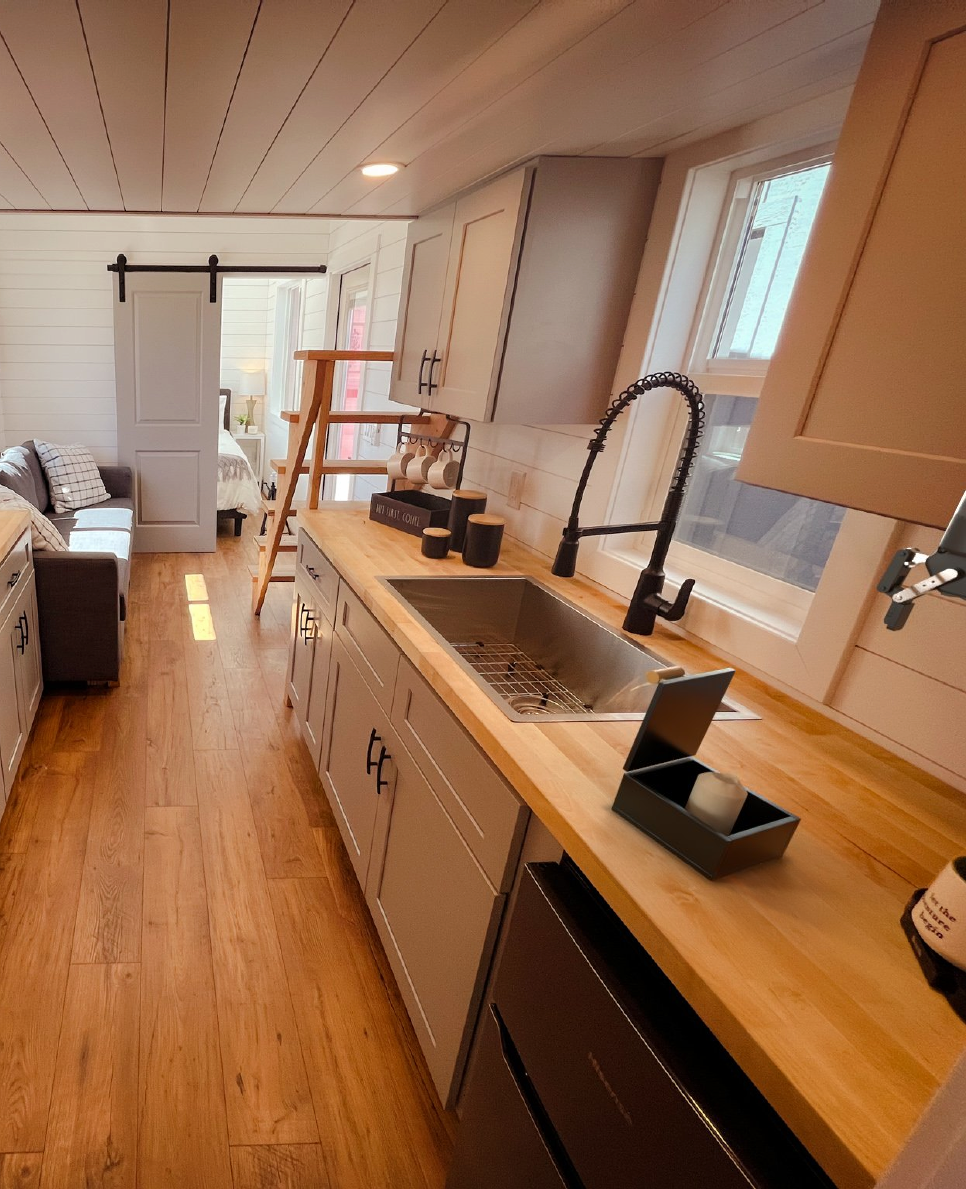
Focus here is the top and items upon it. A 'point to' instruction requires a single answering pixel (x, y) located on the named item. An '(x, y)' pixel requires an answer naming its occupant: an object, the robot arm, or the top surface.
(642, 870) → the top surface
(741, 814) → the bread bin
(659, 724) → the bin lid
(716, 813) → the candle
